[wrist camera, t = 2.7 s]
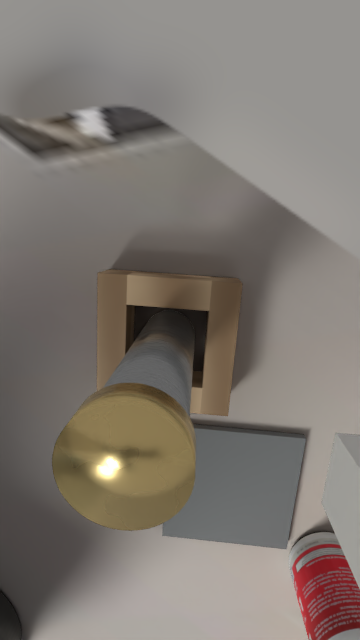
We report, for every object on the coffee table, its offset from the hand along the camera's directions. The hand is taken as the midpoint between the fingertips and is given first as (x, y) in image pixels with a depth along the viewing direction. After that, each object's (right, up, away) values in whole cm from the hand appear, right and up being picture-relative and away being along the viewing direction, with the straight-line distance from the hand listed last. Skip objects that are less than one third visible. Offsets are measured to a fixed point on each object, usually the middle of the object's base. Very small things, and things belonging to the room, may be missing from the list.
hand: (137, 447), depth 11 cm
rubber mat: (+6, -10, +17) cm, 21 cm away
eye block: (+1, +3, +14) cm, 15 cm away
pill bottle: (+14, -17, +18) cm, 29 cm away
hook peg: (+1, +3, +14) cm, 15 cm away
